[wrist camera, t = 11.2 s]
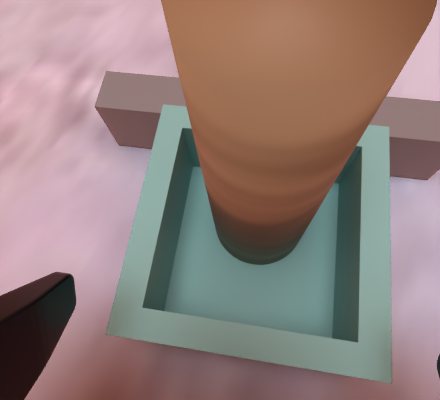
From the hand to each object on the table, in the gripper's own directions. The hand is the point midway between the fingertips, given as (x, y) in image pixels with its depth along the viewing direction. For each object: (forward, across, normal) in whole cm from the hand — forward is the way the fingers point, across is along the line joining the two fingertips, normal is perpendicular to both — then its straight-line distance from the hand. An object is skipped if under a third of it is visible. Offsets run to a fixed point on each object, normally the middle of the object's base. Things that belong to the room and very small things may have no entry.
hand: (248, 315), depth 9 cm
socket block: (+8, 0, +3) cm, 8 cm away
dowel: (+8, 0, +1) cm, 8 cm away
